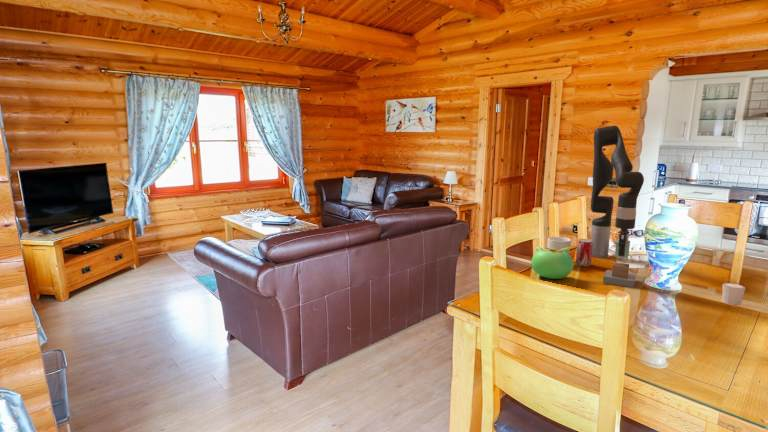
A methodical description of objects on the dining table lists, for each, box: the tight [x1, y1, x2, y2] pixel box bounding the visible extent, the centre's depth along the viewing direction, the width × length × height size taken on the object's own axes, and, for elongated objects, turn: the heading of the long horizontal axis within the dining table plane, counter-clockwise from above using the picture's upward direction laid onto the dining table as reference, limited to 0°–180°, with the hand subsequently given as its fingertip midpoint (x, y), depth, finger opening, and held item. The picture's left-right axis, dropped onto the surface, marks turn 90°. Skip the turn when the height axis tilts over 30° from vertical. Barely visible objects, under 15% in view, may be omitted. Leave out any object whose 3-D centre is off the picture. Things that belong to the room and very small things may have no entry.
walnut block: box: [611, 261, 630, 278], centre depth 188 cm, size 6×6×5 cm
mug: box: [546, 236, 572, 255], centre depth 218 cm, size 15×11×13 cm
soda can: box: [575, 238, 593, 268], centre depth 213 cm, size 7×7×13 cm
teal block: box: [614, 238, 631, 260], centre depth 186 cm, size 5×5×7 cm
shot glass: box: [721, 282, 746, 306], centre depth 163 cm, size 7×7×7 cm
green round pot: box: [530, 246, 574, 280], centre depth 193 cm, size 18×17×15 cm
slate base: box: [602, 269, 637, 289], centre depth 188 cm, size 12×12×3 cm
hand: (621, 254), depth 186 cm, fingers closed on teal block, 5 cm apart
